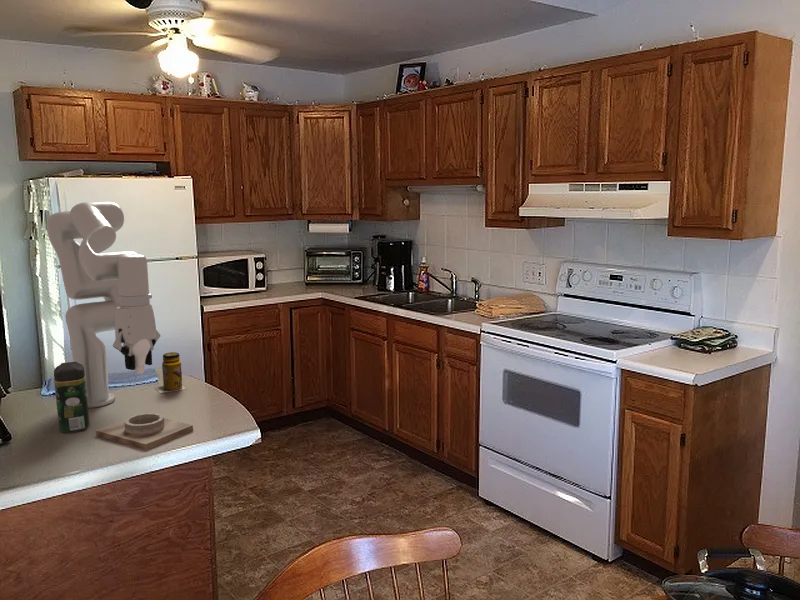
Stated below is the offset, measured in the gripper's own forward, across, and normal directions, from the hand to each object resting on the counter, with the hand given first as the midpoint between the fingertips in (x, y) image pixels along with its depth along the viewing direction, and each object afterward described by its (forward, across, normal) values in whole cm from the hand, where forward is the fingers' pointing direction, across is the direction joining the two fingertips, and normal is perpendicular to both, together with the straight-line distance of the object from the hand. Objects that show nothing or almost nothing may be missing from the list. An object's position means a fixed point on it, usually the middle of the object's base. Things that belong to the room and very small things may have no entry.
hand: (139, 366), depth 183 cm
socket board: (+19, 0, 0) cm, 19 cm away
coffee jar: (+19, +7, -21) cm, 29 cm away
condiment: (+20, -32, -26) cm, 46 cm away
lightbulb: (+3, 0, 0) cm, 3 cm away
